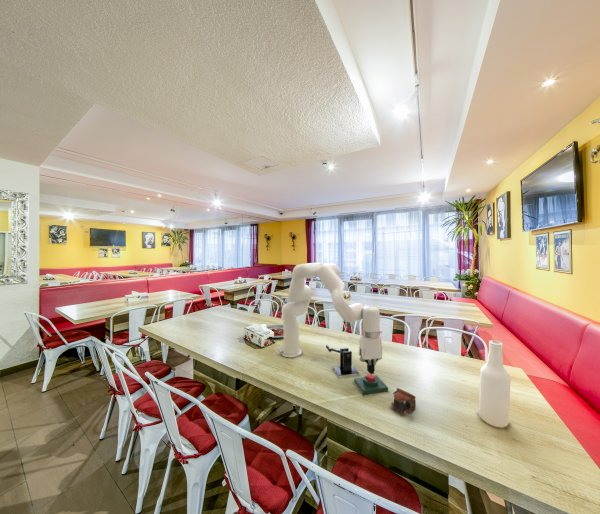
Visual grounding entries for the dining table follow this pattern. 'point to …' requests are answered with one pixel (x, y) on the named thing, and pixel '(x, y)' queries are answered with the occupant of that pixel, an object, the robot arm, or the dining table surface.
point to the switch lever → (334, 350)
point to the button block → (371, 385)
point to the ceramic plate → (277, 330)
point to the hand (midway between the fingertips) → (370, 372)
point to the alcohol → (494, 388)
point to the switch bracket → (345, 363)
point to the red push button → (370, 377)
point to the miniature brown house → (399, 402)
